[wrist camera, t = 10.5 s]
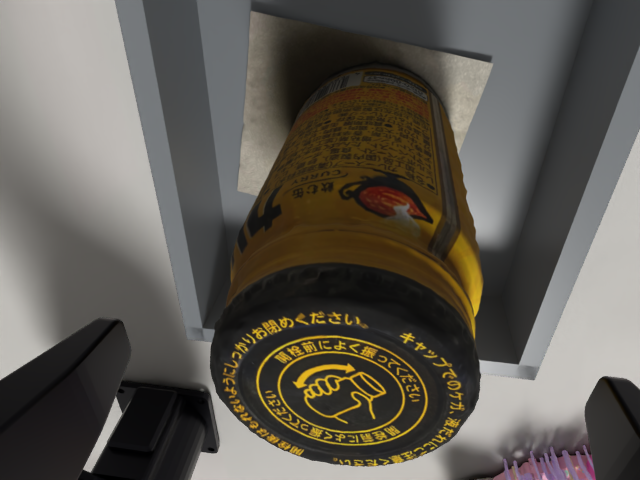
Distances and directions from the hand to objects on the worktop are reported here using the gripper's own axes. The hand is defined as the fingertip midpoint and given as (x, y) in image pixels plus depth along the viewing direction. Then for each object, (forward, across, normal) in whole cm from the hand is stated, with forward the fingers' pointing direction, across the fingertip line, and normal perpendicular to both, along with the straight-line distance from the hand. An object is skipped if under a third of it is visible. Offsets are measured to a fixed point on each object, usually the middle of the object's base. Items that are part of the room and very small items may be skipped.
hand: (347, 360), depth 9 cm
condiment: (+12, +1, 0) cm, 12 cm away
